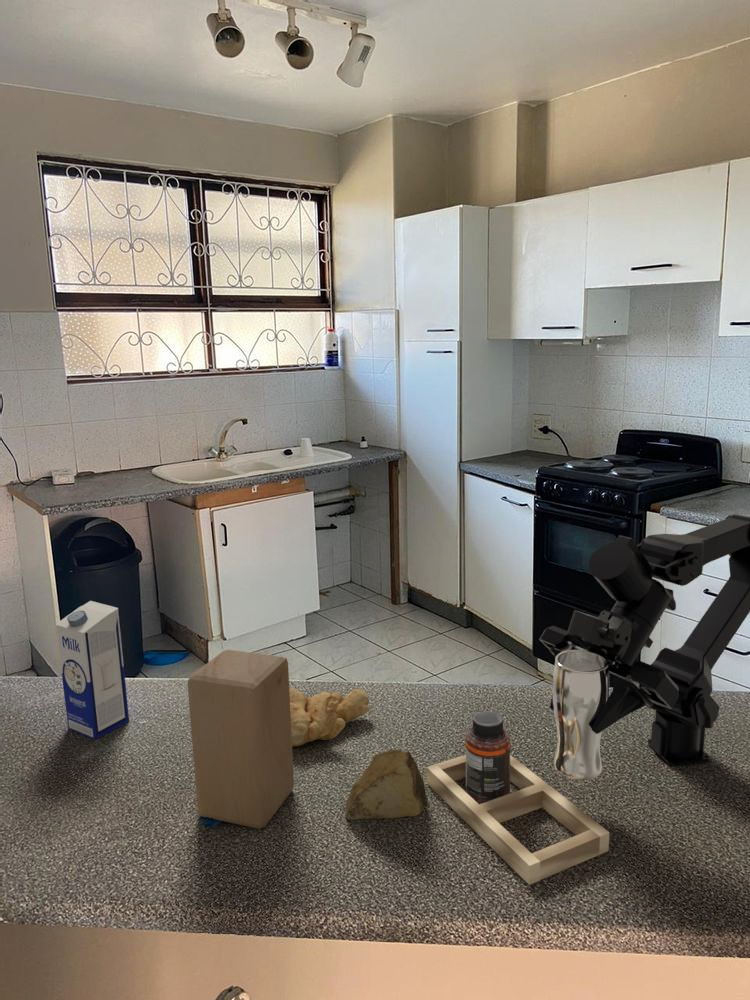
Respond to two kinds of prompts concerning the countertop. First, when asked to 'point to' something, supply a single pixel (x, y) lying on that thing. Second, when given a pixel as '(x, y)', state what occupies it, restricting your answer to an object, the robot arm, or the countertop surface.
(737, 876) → the countertop surface
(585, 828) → the divided wooden frame
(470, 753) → the supplement bottle
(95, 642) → the milk carton
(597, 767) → the beer glass
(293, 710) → the ginger root
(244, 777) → the wooden block
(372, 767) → the rock
